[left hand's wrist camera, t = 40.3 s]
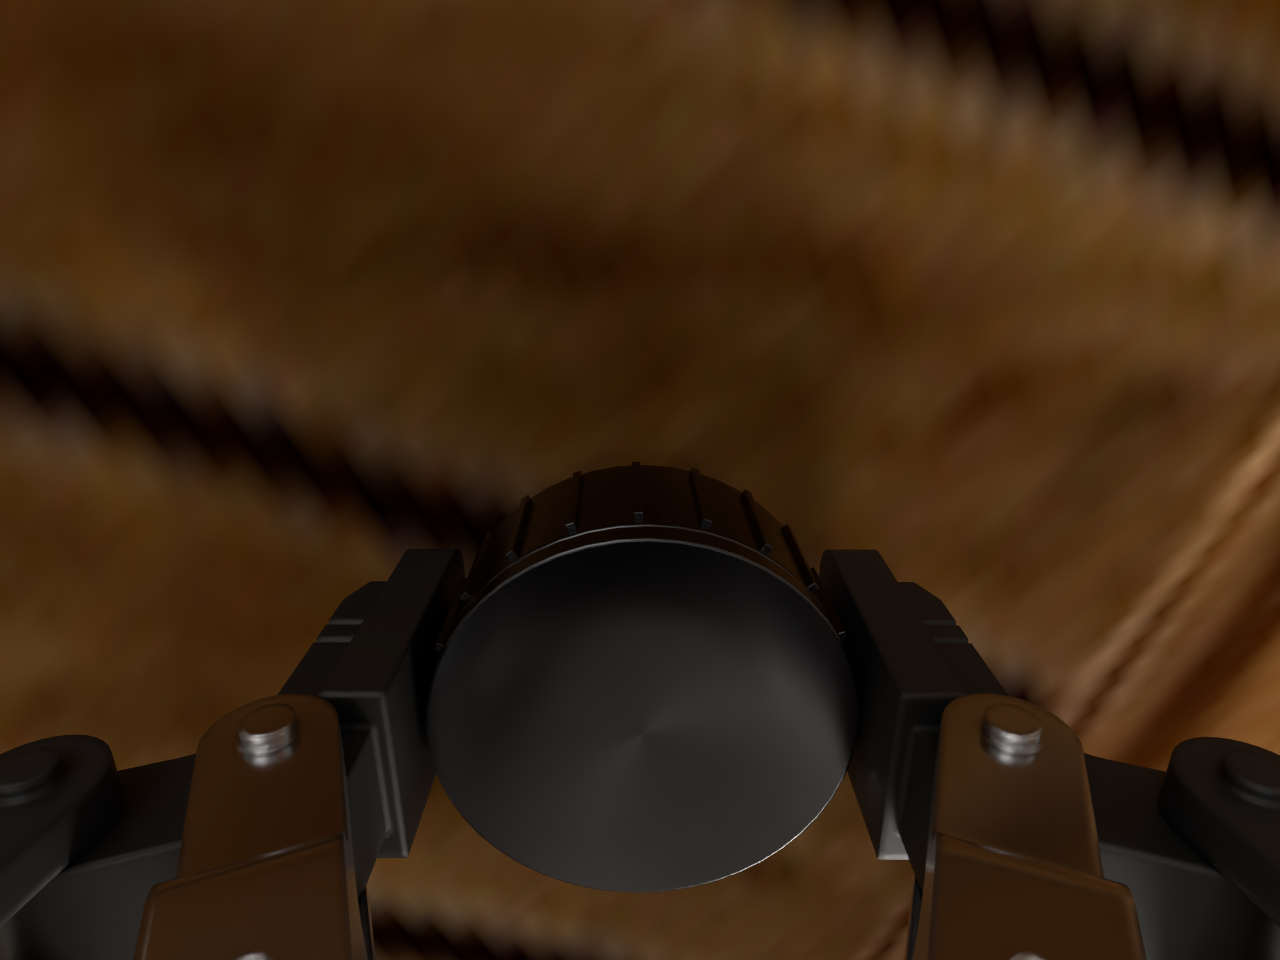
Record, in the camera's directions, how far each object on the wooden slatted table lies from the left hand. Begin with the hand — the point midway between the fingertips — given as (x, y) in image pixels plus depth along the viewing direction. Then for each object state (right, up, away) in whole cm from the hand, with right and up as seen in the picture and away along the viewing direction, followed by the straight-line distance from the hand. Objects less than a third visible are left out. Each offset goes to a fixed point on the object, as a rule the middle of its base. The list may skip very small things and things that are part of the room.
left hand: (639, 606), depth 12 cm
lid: (0, -1, -2) cm, 2 cm away
